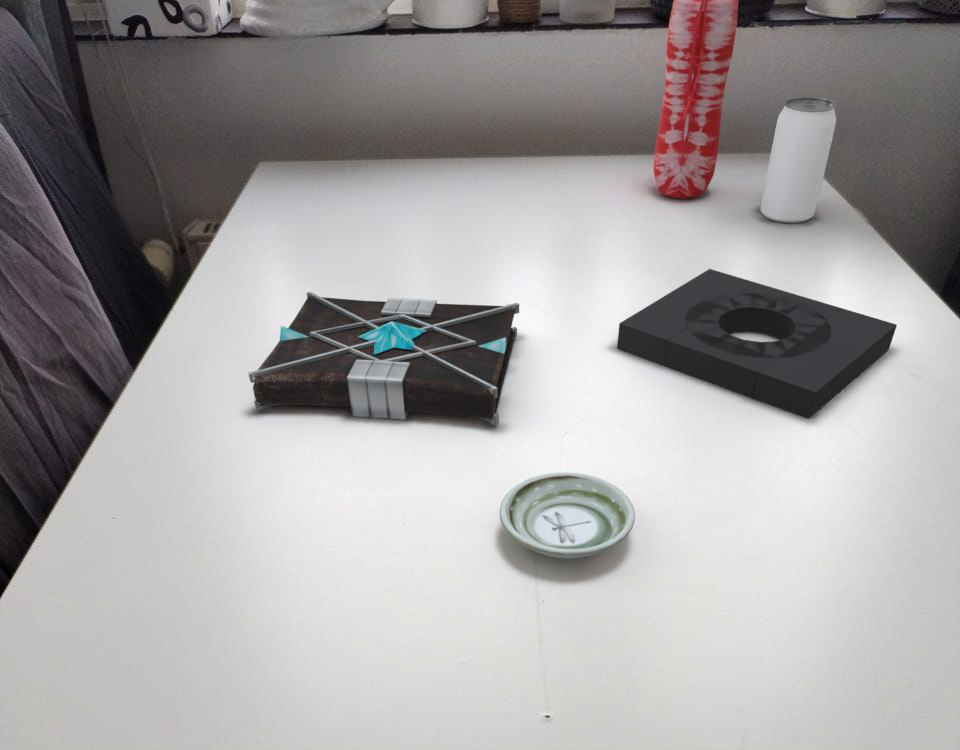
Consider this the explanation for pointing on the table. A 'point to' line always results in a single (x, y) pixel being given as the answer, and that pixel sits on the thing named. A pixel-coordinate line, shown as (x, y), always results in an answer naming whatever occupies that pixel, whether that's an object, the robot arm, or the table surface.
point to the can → (798, 159)
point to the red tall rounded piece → (693, 94)
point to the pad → (750, 364)
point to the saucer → (567, 515)
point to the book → (390, 358)
